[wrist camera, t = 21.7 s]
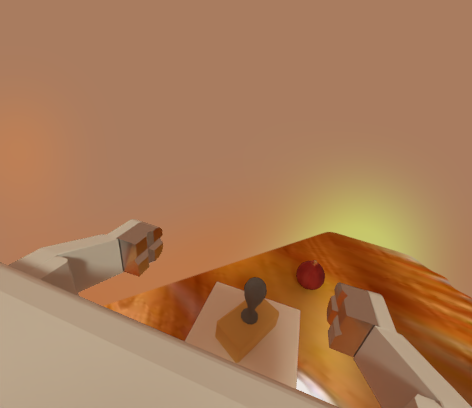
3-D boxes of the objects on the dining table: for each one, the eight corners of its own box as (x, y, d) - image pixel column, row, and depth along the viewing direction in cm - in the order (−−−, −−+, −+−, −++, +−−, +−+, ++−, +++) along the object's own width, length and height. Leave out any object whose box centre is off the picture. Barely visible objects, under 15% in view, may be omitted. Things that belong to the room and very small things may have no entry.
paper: (299, 311, 43) (300, 310, 43) (294, 409, 29) (295, 408, 29) (216, 282, 47) (216, 281, 47) (176, 356, 33) (176, 355, 33)
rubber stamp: (253, 303, 43) (264, 257, 37) (276, 325, 39) (291, 277, 34) (213, 335, 36) (219, 284, 31) (237, 364, 33) (248, 313, 27)
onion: (300, 273, 52) (309, 247, 49) (323, 288, 49) (334, 261, 45) (288, 286, 48) (297, 258, 45) (311, 302, 45) (323, 274, 41)
